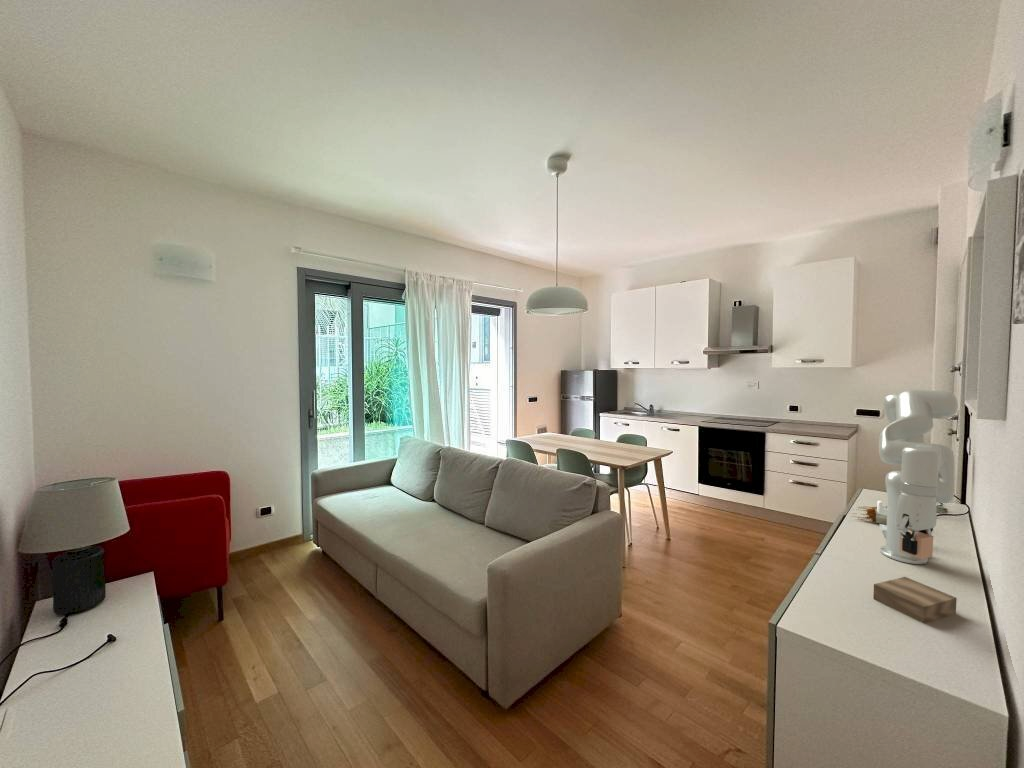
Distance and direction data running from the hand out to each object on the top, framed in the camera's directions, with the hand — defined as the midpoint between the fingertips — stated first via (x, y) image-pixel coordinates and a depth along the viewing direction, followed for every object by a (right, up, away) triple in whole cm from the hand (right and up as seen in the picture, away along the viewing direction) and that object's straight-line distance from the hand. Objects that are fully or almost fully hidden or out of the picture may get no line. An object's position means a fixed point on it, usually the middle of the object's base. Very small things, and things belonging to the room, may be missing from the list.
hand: (915, 550), depth 118 cm
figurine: (+37, -14, +47) cm, 62 cm away
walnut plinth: (0, -17, +1) cm, 17 cm away
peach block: (0, -1, 0) cm, 1 cm away
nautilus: (+47, -14, +63) cm, 80 cm away
